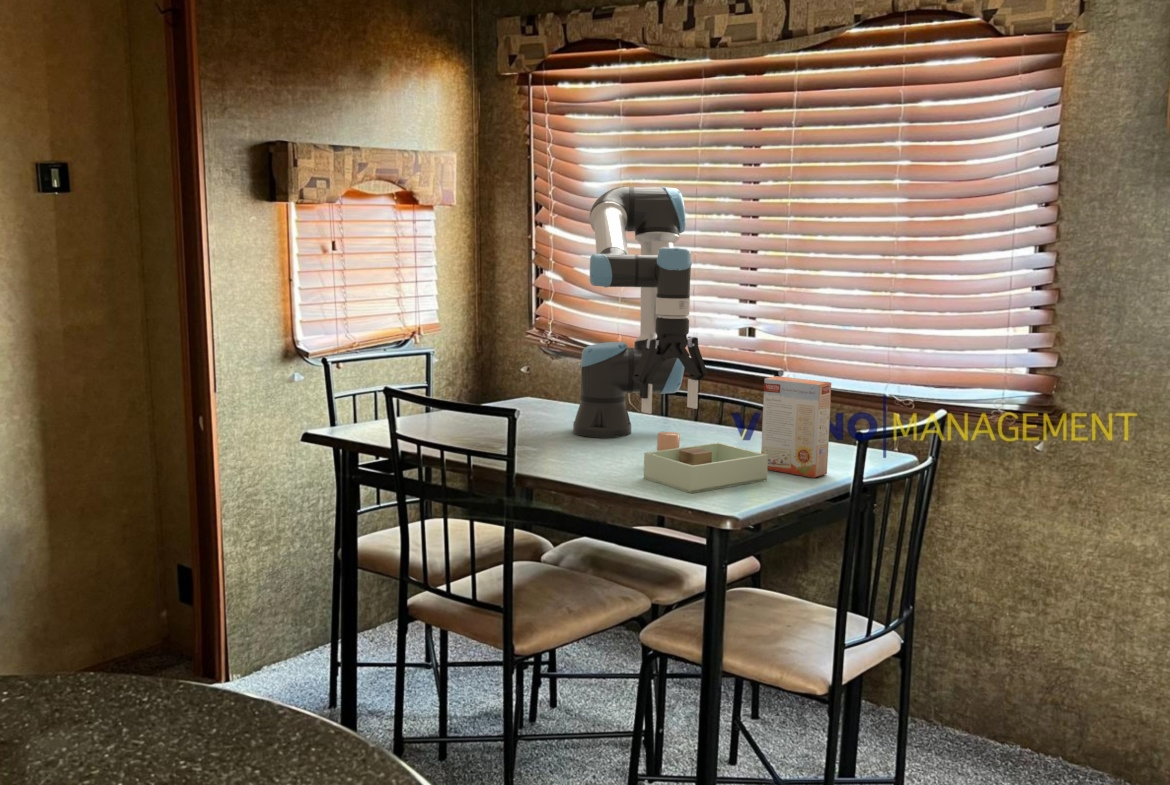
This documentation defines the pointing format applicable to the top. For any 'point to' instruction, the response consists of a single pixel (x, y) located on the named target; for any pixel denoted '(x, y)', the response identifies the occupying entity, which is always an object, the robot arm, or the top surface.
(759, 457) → the sage tote
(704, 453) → the walnut cube
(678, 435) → the terracotta cylinder
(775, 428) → the cracker box
